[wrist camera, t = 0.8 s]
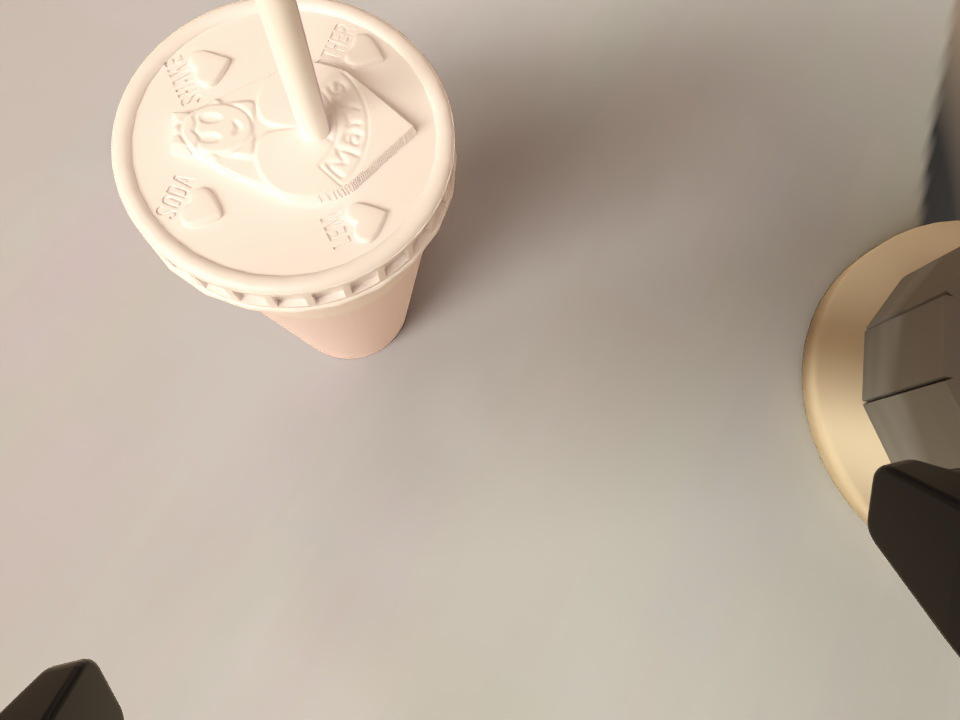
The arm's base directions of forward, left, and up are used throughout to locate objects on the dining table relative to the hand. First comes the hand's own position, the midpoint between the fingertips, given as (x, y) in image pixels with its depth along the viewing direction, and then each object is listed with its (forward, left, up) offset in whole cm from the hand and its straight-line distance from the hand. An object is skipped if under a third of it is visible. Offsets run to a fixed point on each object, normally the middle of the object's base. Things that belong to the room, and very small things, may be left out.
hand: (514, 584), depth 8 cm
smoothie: (+7, +5, -13) cm, 16 cm away
